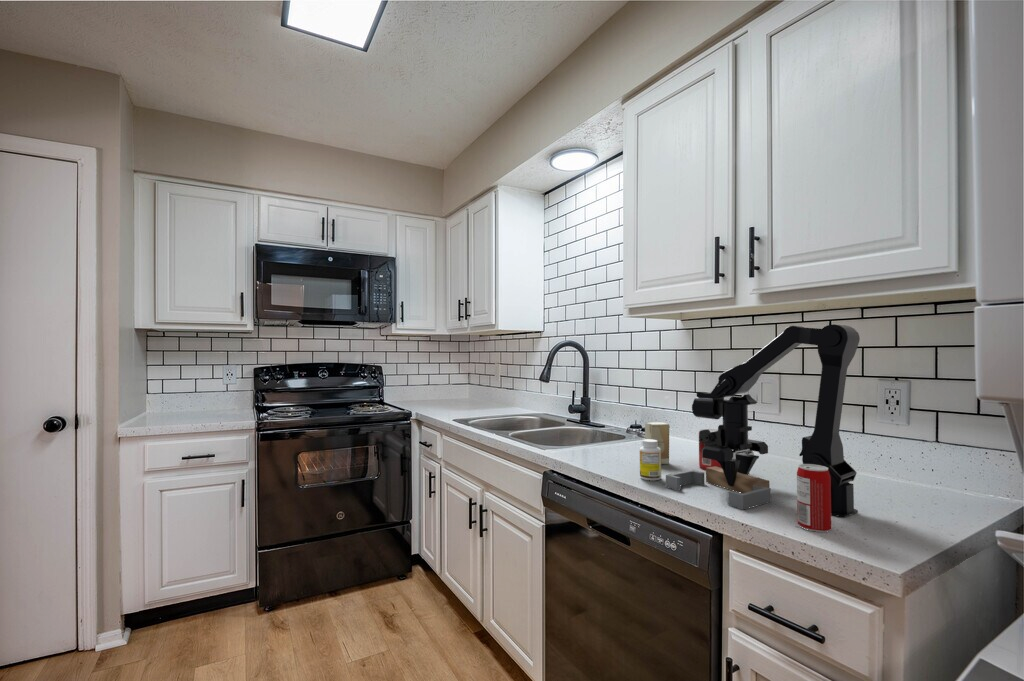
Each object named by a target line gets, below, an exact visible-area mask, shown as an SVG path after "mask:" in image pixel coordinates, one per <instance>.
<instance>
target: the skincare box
mask: <svg viewBox="0 0 1024 681" xmlns="http://www.w3.org/2000/svg"><path fill="white" fill-rule="evenodd" d="M644 439H653V440H657V441H658V447H659V448H660V449H661V465H669V464H670V423H666V422H662V421H661V422H659V421H657V422H656V421H655V422H652V421H651V422H645V423H644Z"/></svg>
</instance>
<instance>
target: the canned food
mask: <svg viewBox="0 0 1024 681" xmlns="http://www.w3.org/2000/svg"><path fill="white" fill-rule="evenodd" d="M707 429H708V430H709V431H710V432H715V431H718V428H717V429H715V428H702V429H699V430H698V433H699V432H700V431H702V430H707ZM704 447H705V445H704V443H701V442H700V441H699V440H698V465H699V468H700V469H701V470H704V471H706V468H708V467H720V468H722V467H721V465H720V463H719V462H717V461H716V460H712V459H707V458H703V457H702V449H703V448H704ZM723 447H724V446H723Z"/></svg>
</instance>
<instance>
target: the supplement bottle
mask: <svg viewBox="0 0 1024 681" xmlns="http://www.w3.org/2000/svg"><path fill="white" fill-rule="evenodd" d="M641 443H642V444H641V445H642V446H640V447H639V477H640V478H641V479H642V480H644V481H645V480H646V481H649V480H650V481H652V482H656V481H659V480H661V479H662V464H661V449H660V448H659V447H658V441H657V440H653V439H645V438H644V439H642V442H641Z"/></svg>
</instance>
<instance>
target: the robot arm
mask: <svg viewBox="0 0 1024 681" xmlns="http://www.w3.org/2000/svg"><path fill="white" fill-rule="evenodd" d="M860 340H861V339H860V333H859V332H858V331H857V330H856V329H855V328H854V327H852V326H850V325H845V324H828V325H825V326H824V327H822V328H819V327H818V328H817V327H816V328H815V327H804V326H802V325H801V326H800V325H789V326H788V327H785V329H784V330H783V332H782V333H780V334H778V336H776V337H775V338H774V339H773V340H771V341H770V342H769V343H767V344H766V345H765V346H763V347H762V348H761V349H760V350H759V351H758V352H756V353H755V354H753V355H752V356H751V357H750V358H749V359H747V360H746V361H744V362H743V363H741V364H740V363H739V364H737V365H736V366H733V367H731V368H729V369H728V370H725V371H723V372H722V373H720V375H719V376H718V382H717V384H716V385H715V387H714V388H713V389H712V391H711V392H707V391H697V392H696V396H695V397H694V399H693V402H692V404H691V410H692V414H693V416H695V418H702V419H711V420H719V419H721V418H722V424H718V427H717V429H718V431H715V432H710V431H709V430H708V429H709V428H706V429H707V430H702V431H700V432H699V431H698V442H699V441H700V442H701V443H704V445H705V447H704V448H703V449H702V457H703V458H707V459H712V460H716V461H717V462H719V463H720V465H721V467H722V469H723V472H724V474H725V477H726V480H727V483H728V485H729V486H733V485H734V482H735V479H736V475H737V472H739V473H742V474H746V475H749V474H750V472H751V470H752V468H753V466H754V465H755V463H756V462H757V460H758V459H760V455H767V454H768V453H769V446H768V444H767V443H766V442H765V441H761V440H757V439H756V440H755V439H749V432H750V431H752V430H753V429H752V428H753V427H752V425H751V426H750V425H749V417H748V416H749V414H748V413H749V410H748V408H749V407H748V406H749V405H750V406H751V405H757V403H758V402H757V400H755V399H754V398H753V397H752V396H751V394H749V393H747V392H749V391H750V390H751V389H752V388H753V386H754V385H756V383H757V381H759V378H760V376H761V375H762V374H763V373H764V372H766V371H767V370H769V368H771V367H772V366H774V365H775V364H776V363H778V362H779V361H781V359H783V358H784V357H786V356H787V355H788V354H789V353H791V352H792V351H793V350H795V349H796V348H797V347H799V346H800V345H802V344H805V345H811V346H812V345H813V346H817V353H818V356H819V361H820V363H821V371H820V372H821V373H820V381H819V389H818V396H817V397H818V398H817V406H816V413H815V414H816V415H815V422H814V429H813V432H812V433H811V435H808V436H804V437H801V451H800V453H799V454H798V455H799V457H801V462H802V464H814V465H821V466H825V467H827V468H828V470H829V473H830V477H831V516H836V517H840V518H845V517H848V516H851V515H854V514H856V513H857V514H858V512H859V511H858V509H856V508H855V499H854V496H855V495H854V491H855V490H854V483H850V482H854V481H855V479H856V476H857V473H858V472H857V471H856V470H855V469H854V468H853V467H852V466H851V464H849V463H848V462H847V461H846V460H845V458H844V445H843V442H842V439H841V436H840V428H841V419H842V412H843V405H844V404H843V403H844V398H845V397H844V396H845V387H846V380H847V375H848V374H847V372H848V368H849V366H850V364H851V362H852V361H853V359H854V357H855V355H856V352H857V349H858V348H859V347H858V346H859V343H860ZM745 393H747V394H745ZM742 394H743V395H742ZM736 395H742V396H736ZM728 397H729V399H725V398H728ZM723 446H724V447H723ZM755 452H757V453H759V455H755Z"/></svg>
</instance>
